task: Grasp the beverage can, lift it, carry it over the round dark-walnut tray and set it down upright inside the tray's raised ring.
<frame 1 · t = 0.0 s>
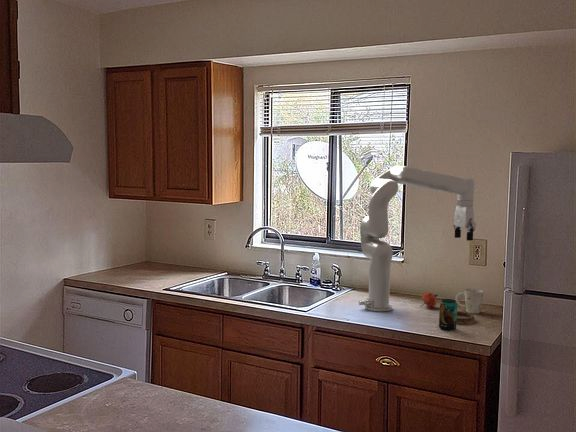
hand: (463, 239, 307), 31 cm above the worktop, fingers open, 9 cm apart
tray: (458, 320, 277), on the worktop
beverage can: (447, 329, 263), on the worktop
pomegranate: (428, 307, 299), on the worktop
mug: (468, 311, 293), on the worktop
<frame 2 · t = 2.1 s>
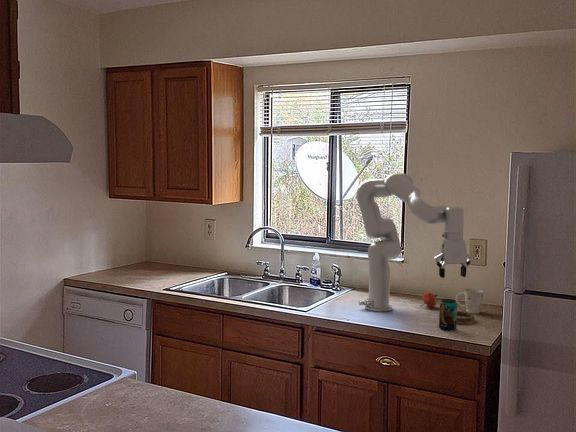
hand: (452, 276, 267), 21 cm above the worktop, fingers open, 9 cm apart
nothing on the worktop moved.
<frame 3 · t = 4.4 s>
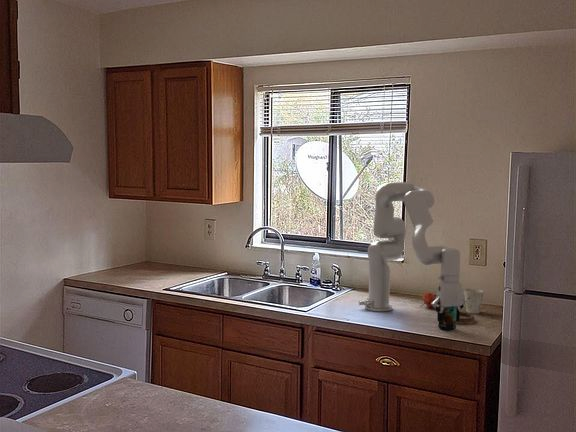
hand: (448, 320, 262), 4 cm above the worktop, fingers closed on beverage can, 7 cm apart
beverage can: (447, 329, 263), on the worktop, touching gripper
everything else where it was.
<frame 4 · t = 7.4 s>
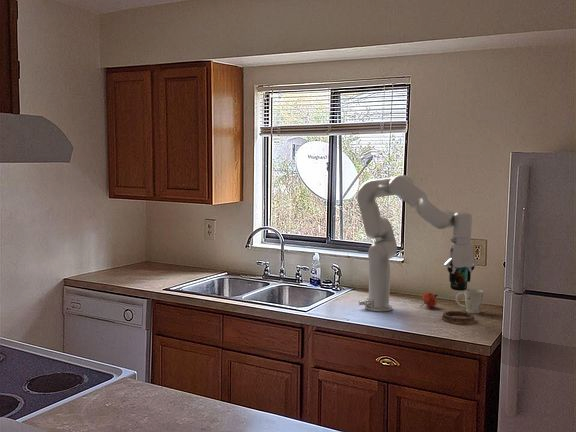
hand: (459, 281, 275), 17 cm above the worktop, fingers closed on beverage can, 7 cm apart
beverage can: (458, 289, 276), point 13 cm above the worktop, touching gripper
everything else where it was.
when the fingers open (5 cm above the worktop, at t = 10.0 s): beverage can drops 1 cm, resting on tray.
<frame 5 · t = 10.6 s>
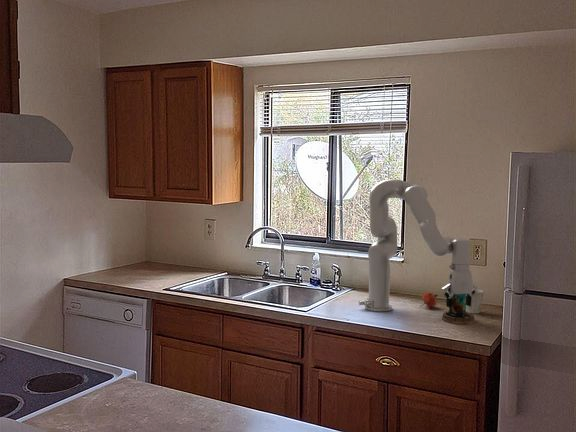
hand: (458, 306, 276), 6 cm above the worktop, fingers open, 9 cm apart
beverage can: (456, 318, 277), point 1 cm above the worktop, touching tray
everything else where it was.
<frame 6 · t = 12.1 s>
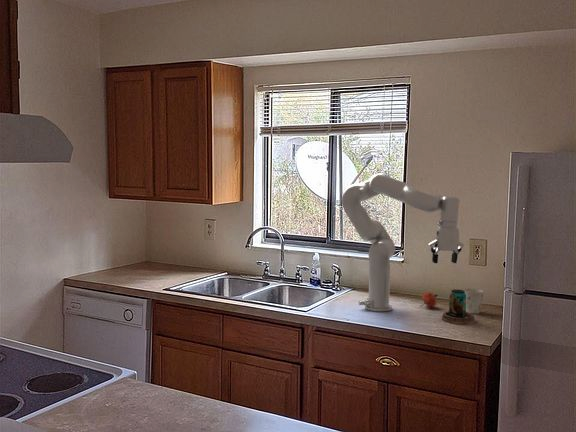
hand: (444, 262, 281), 24 cm above the worktop, fingers open, 9 cm apart
nothing on the worktop moved.
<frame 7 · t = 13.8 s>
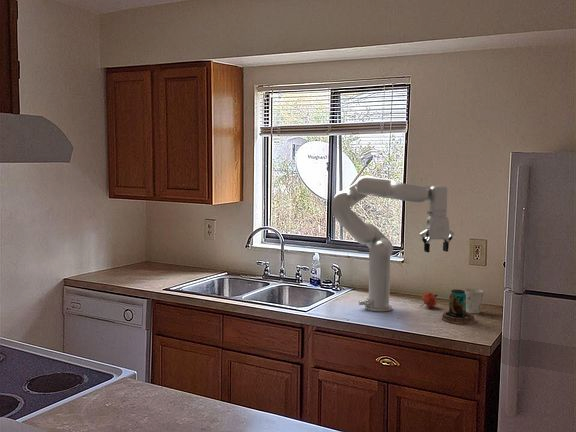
hand: (436, 251, 285), 28 cm above the worktop, fingers open, 9 cm apart
nothing on the worktop moved.
at the end: beverage can 0.7 cm from the tray (horizontally); beverage can tilted 0°; the gripper is holding nothing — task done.
